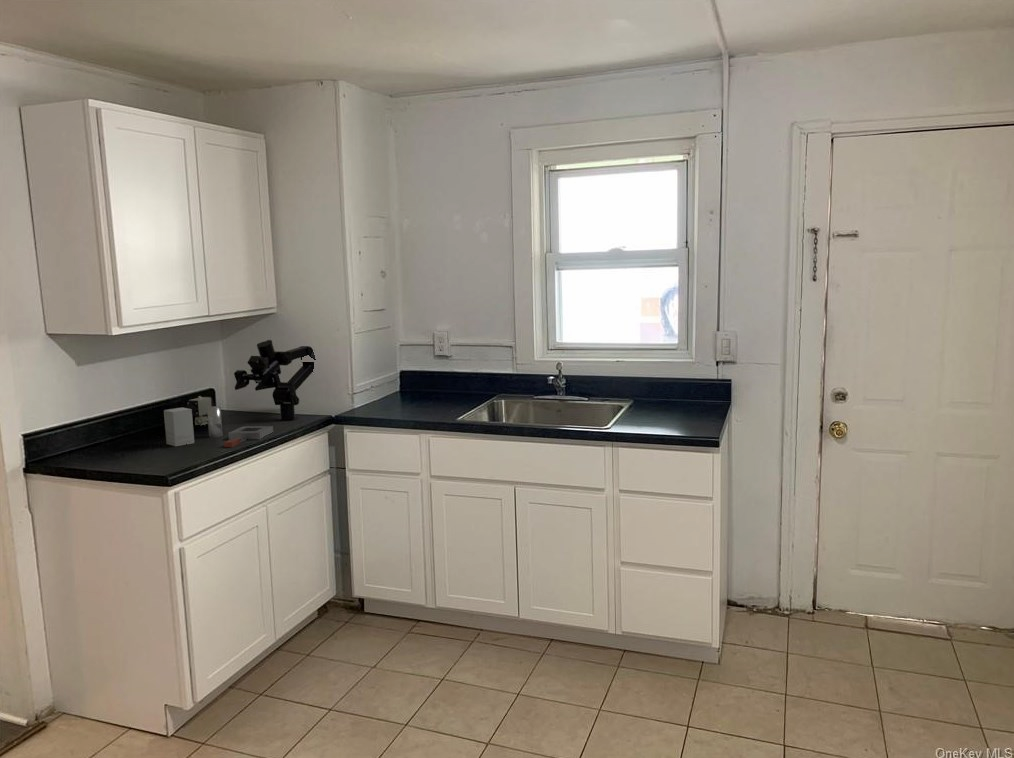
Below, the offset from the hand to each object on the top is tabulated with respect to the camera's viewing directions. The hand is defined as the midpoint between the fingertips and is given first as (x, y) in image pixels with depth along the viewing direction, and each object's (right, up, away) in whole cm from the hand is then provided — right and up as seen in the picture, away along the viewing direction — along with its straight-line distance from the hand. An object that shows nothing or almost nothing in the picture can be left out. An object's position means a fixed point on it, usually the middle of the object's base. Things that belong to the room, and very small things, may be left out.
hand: (245, 389), depth 300 cm
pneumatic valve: (-24, -15, +19) cm, 34 cm away
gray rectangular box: (+3, -18, -12) cm, 22 cm away
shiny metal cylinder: (-10, -18, -4) cm, 21 cm away
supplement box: (-18, -20, -16) cm, 31 cm away
